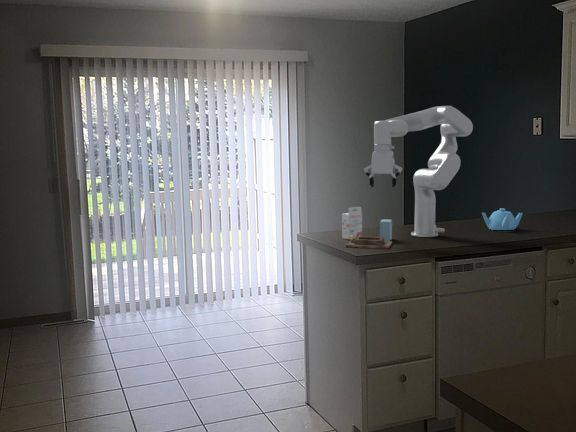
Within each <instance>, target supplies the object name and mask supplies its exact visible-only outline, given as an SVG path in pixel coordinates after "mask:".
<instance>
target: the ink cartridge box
mask: <svg viewBox="0 0 576 432" xmlns="http://www.w3.org/2000/svg"><path fill="white" fill-rule="evenodd" d="M347 210H348V212H345V213H341V239H345V240H350V236H351V235H354V240H355V239H356V238H357V237H358V236H362V237H363V212H362V211H363V210H362V206H353V207H348V209H347Z"/></svg>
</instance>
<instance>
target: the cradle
mask: <svg viewBox="0 0 576 432" xmlns="http://www.w3.org/2000/svg"><path fill="white" fill-rule="evenodd" d="M392 245H393V241H392V240H391V241H384V237H380V236H363V235H362V236H358V237H357V238H355V239H354V235H351V236H350V239H349V242H348V243H346V244H345V248H354V247H358V248H361V249H377V250H378V249H382V250H388V249H390V248H391V246H392Z"/></svg>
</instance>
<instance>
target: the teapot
mask: <svg viewBox="0 0 576 432" xmlns="http://www.w3.org/2000/svg"><path fill="white" fill-rule="evenodd" d="M481 214H482V217H483V219H484V222H485V225H486V226H487V228H488V229H489V230H490V229H491V231H493V230H513V231H515V230H516V229H517V227H518V226H519V224H520V222H521V218H522V216H523V212H518V214H517V215H516V216H514V215H513V213H512V212H511V211H506V208H503V207H502V208H501V207H500V208H499V210H496V211H493V212H492V213H491V215H490V216H489V217H488V216H487V214H486V212H481ZM514 229H515V230H514Z"/></svg>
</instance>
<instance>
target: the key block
mask: <svg viewBox="0 0 576 432" xmlns="http://www.w3.org/2000/svg"><path fill="white" fill-rule="evenodd" d="M392 234H393V219H385V218H384V219H381V220H380V221H379V237H384V241H390V240H391V241H392V239H393V235H392Z"/></svg>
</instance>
